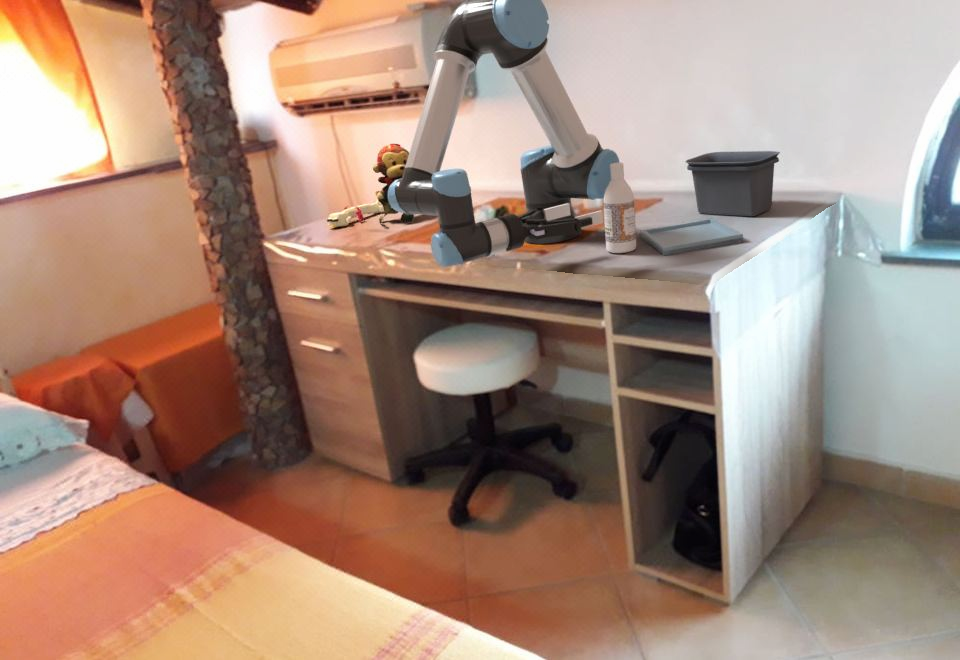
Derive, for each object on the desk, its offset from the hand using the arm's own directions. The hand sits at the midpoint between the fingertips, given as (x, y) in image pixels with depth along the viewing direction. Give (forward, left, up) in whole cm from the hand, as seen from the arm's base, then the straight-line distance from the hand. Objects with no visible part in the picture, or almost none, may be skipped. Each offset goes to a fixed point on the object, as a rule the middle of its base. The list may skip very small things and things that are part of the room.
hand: (585, 212), depth 175 cm
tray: (-2, +24, -11) cm, 27 cm away
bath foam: (-3, +8, -11) cm, 14 cm away
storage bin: (-21, +43, -11) cm, 49 cm away
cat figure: (-94, -58, -12) cm, 111 cm away
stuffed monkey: (-80, -44, -11) cm, 92 cm away
